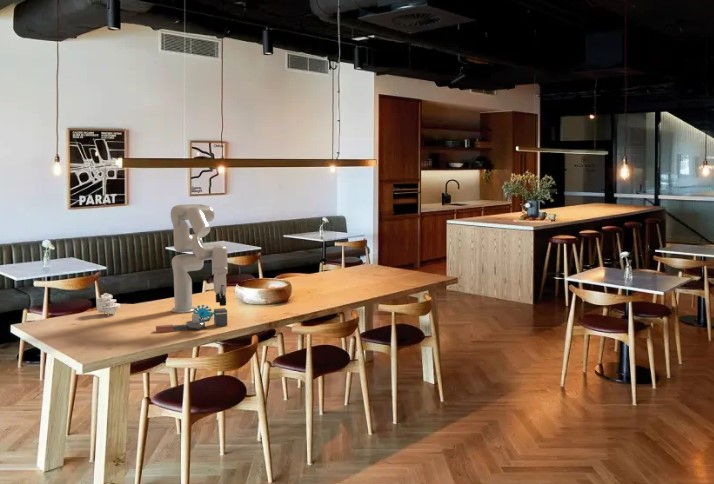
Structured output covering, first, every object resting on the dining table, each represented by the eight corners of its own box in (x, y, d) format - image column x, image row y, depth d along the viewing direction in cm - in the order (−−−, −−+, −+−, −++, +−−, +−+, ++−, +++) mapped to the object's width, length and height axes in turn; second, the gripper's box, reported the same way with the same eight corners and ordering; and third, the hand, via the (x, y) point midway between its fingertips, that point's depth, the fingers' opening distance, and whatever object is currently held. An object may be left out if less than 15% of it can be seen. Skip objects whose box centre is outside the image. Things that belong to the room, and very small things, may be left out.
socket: (214, 324, 332) (213, 308, 331) (225, 323, 334) (224, 308, 333) (216, 326, 327) (215, 311, 326) (227, 325, 329) (227, 310, 328)
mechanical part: (121, 315, 348) (120, 294, 347) (97, 317, 343) (96, 296, 341) (119, 311, 358) (118, 290, 357) (96, 313, 353) (95, 292, 352)
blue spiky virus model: (193, 319, 335) (193, 303, 341) (191, 325, 339) (191, 309, 345) (215, 320, 339) (214, 304, 345) (212, 326, 343) (212, 310, 349)
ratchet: (155, 329, 319) (154, 315, 319) (203, 325, 328) (203, 312, 328) (157, 334, 311) (156, 319, 310) (206, 329, 320) (206, 316, 319)
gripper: (209, 268, 333) (210, 301, 335) (215, 273, 318) (216, 307, 319) (224, 268, 336) (224, 300, 338) (231, 272, 321) (231, 306, 322)
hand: (221, 303), depth 329 cm, fingers open, 9 cm apart
